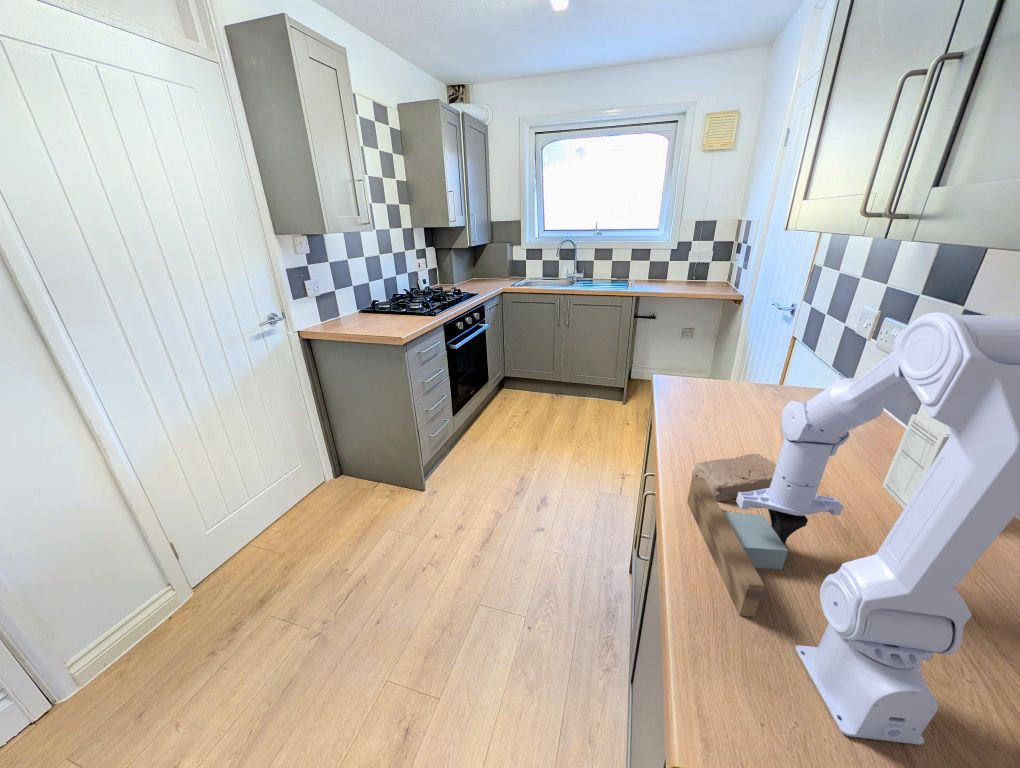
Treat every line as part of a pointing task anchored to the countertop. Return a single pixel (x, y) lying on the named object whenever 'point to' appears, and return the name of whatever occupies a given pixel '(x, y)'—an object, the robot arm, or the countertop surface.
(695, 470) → the brick
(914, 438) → the supplement box
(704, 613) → the countertop surface
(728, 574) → the fence board
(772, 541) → the grey block
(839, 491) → the countertop surface
